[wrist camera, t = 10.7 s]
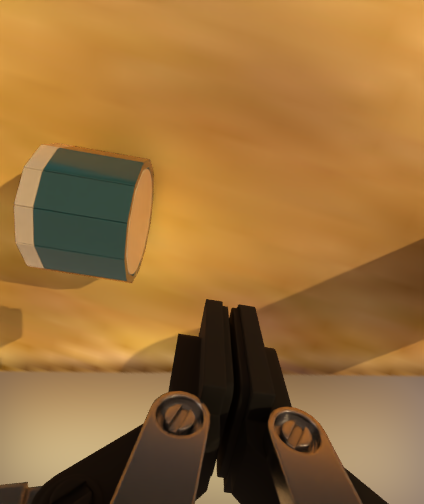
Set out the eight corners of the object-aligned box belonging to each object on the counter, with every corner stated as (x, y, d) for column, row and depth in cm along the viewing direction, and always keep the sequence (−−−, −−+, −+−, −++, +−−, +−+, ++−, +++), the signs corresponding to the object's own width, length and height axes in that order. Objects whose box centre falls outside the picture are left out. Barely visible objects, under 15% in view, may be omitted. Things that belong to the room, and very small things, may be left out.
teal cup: (131, 168, 17) (10, 147, 16) (120, 305, 19) (17, 289, 19) (157, 155, 24) (75, 141, 24) (147, 256, 27) (73, 244, 26)
